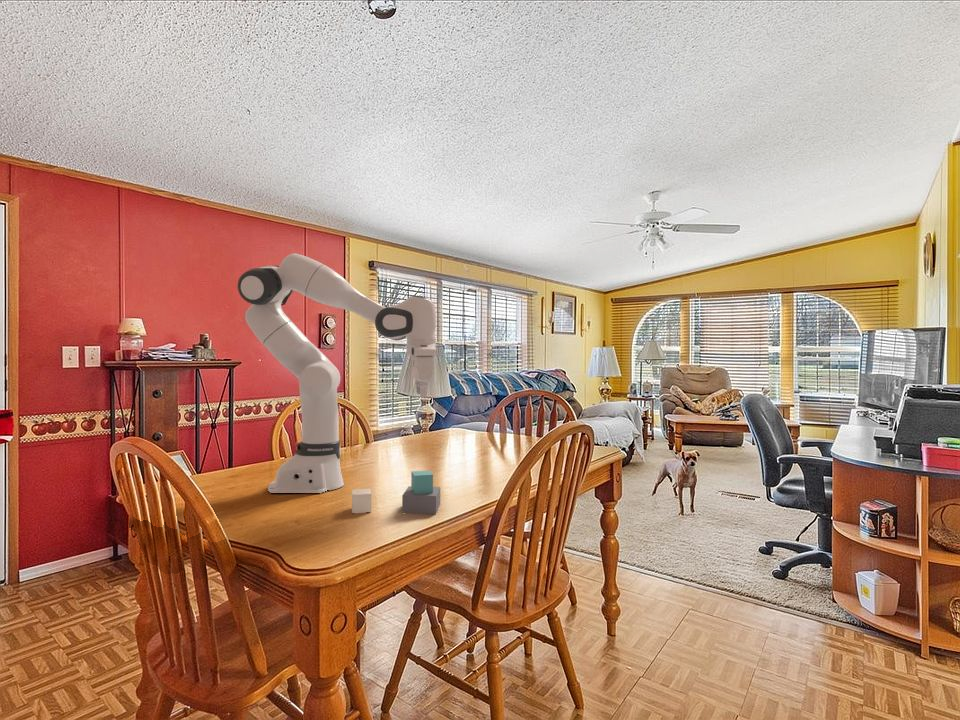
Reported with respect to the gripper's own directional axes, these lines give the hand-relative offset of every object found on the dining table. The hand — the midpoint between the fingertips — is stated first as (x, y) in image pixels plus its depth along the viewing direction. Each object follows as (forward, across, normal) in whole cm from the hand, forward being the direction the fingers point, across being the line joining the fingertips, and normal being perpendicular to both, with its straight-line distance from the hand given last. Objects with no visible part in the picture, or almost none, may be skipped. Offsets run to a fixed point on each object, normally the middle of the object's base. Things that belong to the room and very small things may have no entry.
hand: (421, 395), depth 162 cm
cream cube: (+29, +16, -18) cm, 38 cm away
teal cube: (+24, +18, -2) cm, 31 cm away
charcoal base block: (+30, +18, -2) cm, 35 cm away
